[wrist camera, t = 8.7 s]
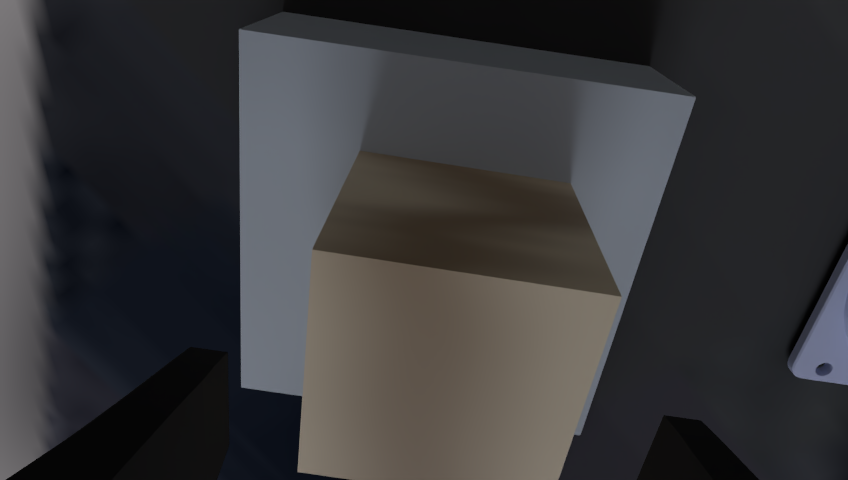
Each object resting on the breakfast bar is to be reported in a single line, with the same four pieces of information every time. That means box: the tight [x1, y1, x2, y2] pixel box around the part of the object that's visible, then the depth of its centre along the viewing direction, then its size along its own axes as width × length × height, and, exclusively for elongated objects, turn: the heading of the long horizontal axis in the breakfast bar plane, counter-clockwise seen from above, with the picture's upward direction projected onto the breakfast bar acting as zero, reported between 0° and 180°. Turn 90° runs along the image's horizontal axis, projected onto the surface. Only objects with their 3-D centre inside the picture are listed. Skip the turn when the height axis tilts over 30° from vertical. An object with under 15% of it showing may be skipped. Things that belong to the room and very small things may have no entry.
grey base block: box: [239, 12, 696, 435], centre depth 17 cm, size 10×10×4 cm
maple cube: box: [298, 151, 622, 480], centre depth 13 cm, size 5×5×5 cm
